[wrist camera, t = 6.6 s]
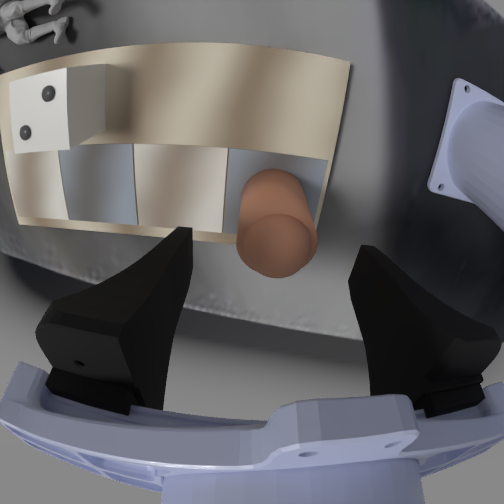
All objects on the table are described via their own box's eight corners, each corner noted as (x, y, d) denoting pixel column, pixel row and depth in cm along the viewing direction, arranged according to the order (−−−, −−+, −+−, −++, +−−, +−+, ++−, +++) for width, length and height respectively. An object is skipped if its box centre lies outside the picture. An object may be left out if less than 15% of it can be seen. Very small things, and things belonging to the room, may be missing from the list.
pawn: (309, 173, 16) (333, 231, 11) (297, 228, 18) (312, 300, 13) (244, 165, 16) (237, 220, 11) (239, 221, 18) (231, 293, 13)
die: (105, 63, 13) (65, 67, 9) (105, 129, 15) (68, 150, 11) (51, 72, 12) (7, 82, 9) (54, 132, 15) (13, 154, 11)
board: (346, 62, 13) (351, 62, 12) (309, 244, 20) (311, 252, 19) (4, 74, 12) (-4, 76, 11) (24, 219, 19) (18, 224, 18)
